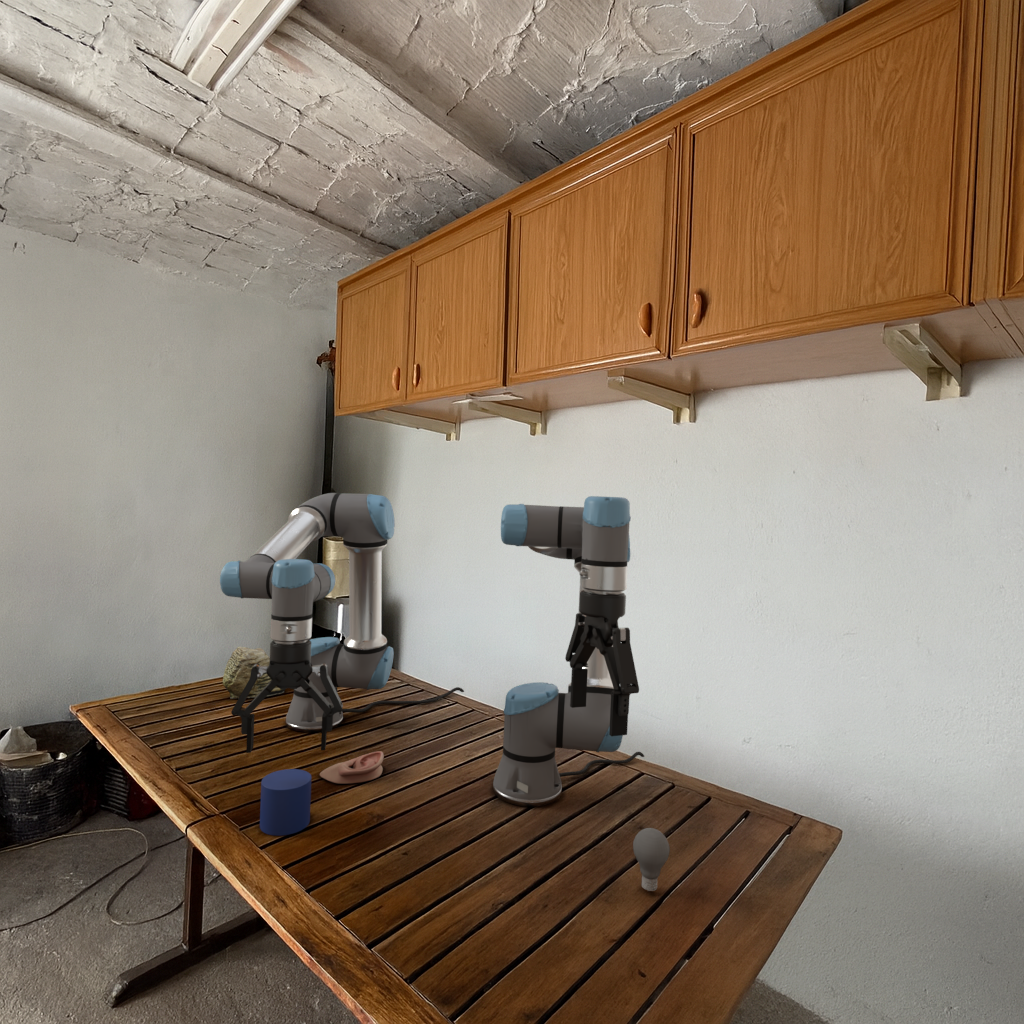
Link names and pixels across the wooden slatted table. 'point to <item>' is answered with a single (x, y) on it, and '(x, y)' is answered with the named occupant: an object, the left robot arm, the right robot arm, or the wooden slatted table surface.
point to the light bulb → (650, 855)
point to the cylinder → (285, 802)
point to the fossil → (246, 672)
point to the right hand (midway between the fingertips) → (596, 720)
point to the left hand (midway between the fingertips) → (287, 749)
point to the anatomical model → (355, 769)
